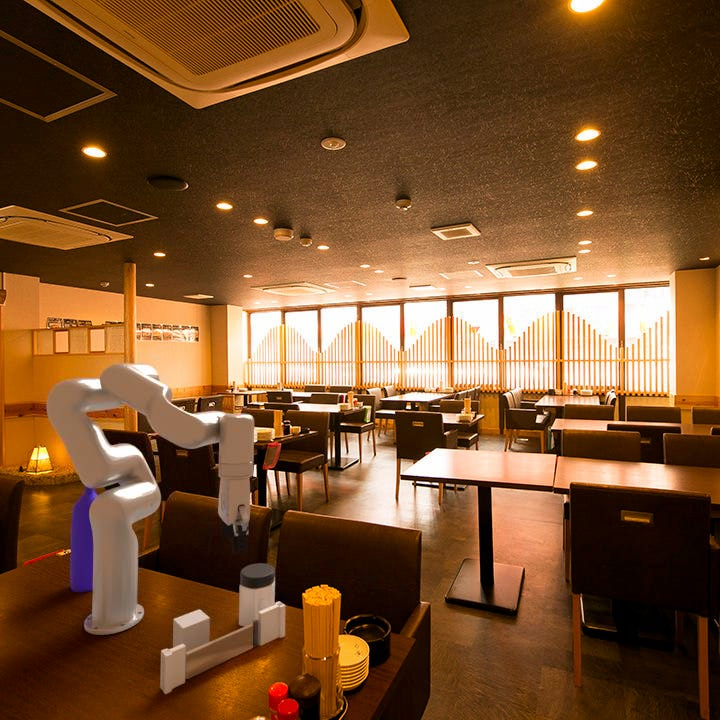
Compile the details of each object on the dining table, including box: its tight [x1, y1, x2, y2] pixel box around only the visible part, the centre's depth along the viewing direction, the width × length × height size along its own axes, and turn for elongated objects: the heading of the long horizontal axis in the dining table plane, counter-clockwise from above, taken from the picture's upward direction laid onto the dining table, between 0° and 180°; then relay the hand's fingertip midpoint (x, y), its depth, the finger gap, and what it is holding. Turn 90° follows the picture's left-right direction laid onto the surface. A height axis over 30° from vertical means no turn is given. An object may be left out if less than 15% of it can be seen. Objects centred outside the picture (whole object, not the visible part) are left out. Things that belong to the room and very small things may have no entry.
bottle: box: [69, 486, 99, 593], centre depth 127 cm, size 8×8×30 cm
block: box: [172, 609, 211, 657], centre depth 100 cm, size 5×6×6 cm
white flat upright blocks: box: [159, 601, 286, 695], centre depth 96 cm, size 2×27×7 cm, turn 134°
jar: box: [238, 562, 276, 627], centre depth 111 cm, size 9×8×12 cm
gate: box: [185, 620, 259, 680], centre depth 95 cm, size 1×16×5 cm, turn 134°
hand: (234, 545), depth 103 cm, fingers open, 9 cm apart
